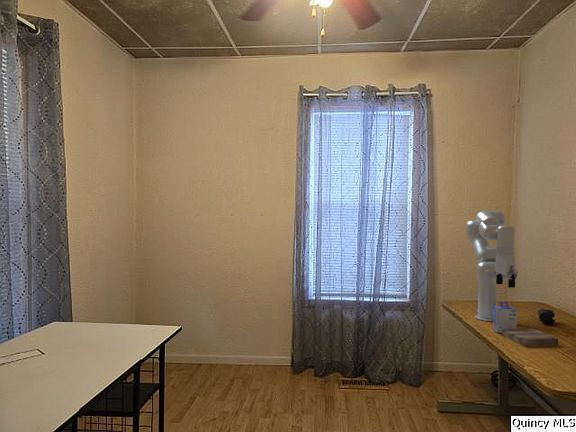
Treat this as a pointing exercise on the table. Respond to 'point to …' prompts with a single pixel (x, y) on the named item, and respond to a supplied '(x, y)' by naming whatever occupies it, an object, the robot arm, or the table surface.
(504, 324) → the ink cartridge box
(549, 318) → the end cap
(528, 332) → the walnut base
